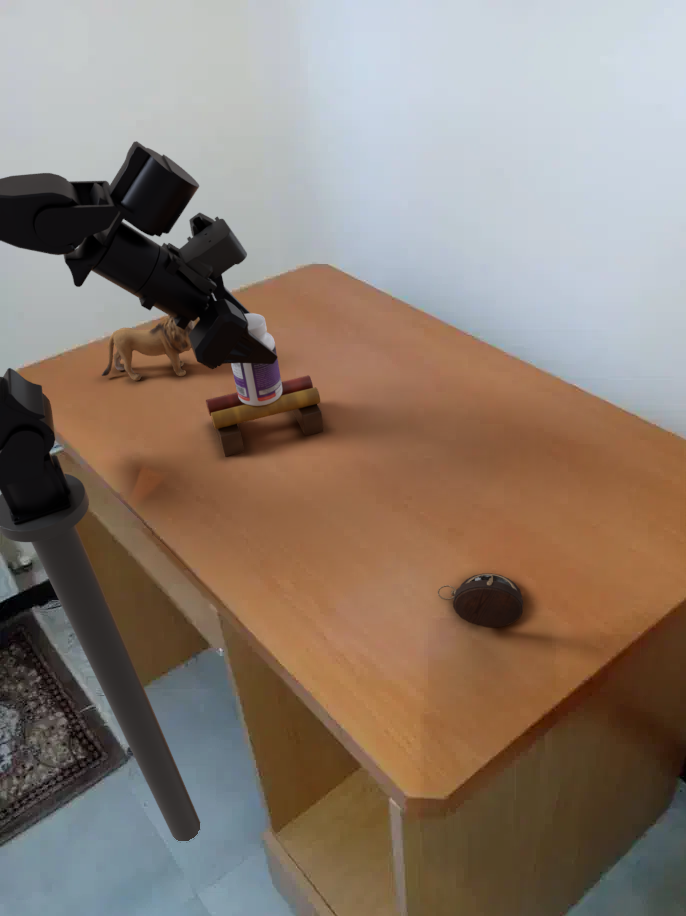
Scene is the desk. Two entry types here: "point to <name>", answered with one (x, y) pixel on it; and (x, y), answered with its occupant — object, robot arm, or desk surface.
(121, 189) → the robot arm
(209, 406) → the rod rack
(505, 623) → the brown coin purse
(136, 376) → the lion figurine
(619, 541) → the desk surface
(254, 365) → the pill bottle
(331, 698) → the desk surface
